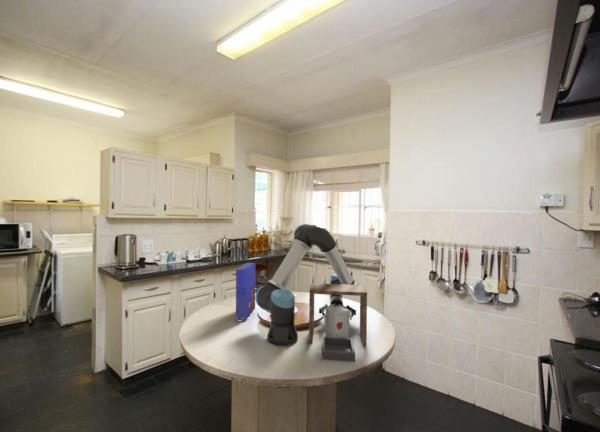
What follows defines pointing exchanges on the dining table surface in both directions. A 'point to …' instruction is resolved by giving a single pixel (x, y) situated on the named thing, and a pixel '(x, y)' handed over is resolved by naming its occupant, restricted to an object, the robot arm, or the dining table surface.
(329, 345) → the tray
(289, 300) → the robot arm
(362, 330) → the tunnel
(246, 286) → the cereal box
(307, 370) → the dining table surface
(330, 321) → the supplement box
